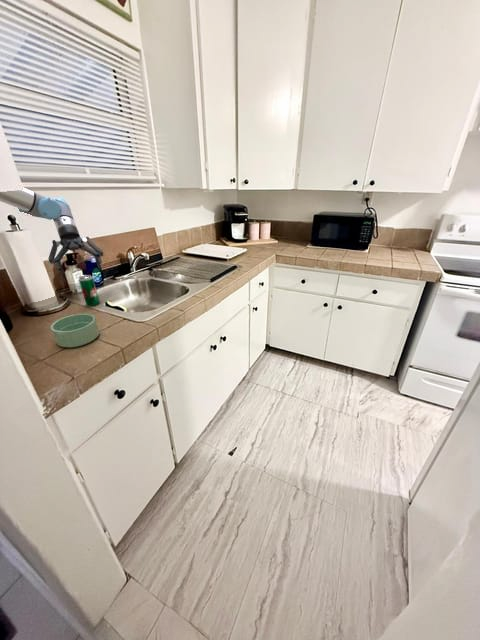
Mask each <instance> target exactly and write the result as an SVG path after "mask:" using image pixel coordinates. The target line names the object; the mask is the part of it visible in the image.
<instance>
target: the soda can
mask: <svg viewBox="0 0 480 640" xmlns="http://www.w3.org/2000/svg"><path fill="white" fill-rule="evenodd" d="M78 283H79V286H80V289H81V293H82V296H83V299H84V302H85V305H86V306H88V307H93V306H97V305H99V304H100V298H99V294H98V292H97V287H96V285H95V281H94V277H92V275H91V274H84V275H80V276H79V277H78Z"/></svg>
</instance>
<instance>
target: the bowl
mask: <svg viewBox="0 0 480 640" xmlns="http://www.w3.org/2000/svg"><path fill="white" fill-rule="evenodd" d="M50 331H51V333H52V336H53V338H54V341H55V343H56V344H57V346H58V347H62V348H76V347H81V346H84V345H87V344H89V343H91V342H92V341H94V340H96V338H98V336H99V335H100V330H99V326H98V323H97V320H96V317H95V315H93V314H90V313H76V314H71V315H68V316H67V315H66V316H64V317H61V318H59V319H58V320H56V321H54V322H53V323H52V324H51V325H50Z"/></svg>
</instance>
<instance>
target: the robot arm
mask: <svg viewBox="0 0 480 640" xmlns="http://www.w3.org/2000/svg"><path fill="white" fill-rule="evenodd" d="M22 187H23V190H22V191H7V192H0V202H1V203H4V204H7V205H9V206H12V207H17V208H18V209H19V211H20V212H24V213H27V214H30V215H32V216H31V217H35V218H41V219H46V220H49V221H51V220H52V219H53V222H54V225H55V228H56V231H57V234H58V237H59V240H55V239H53V240H52V241H51V243H52V246H51V249H50V252H49V254H48V259H47V260H48V262H49V264H55V267H56V270H57V271H60V272H61V274H62V278H63V279H66V278H67V277H66V274H65V271H64V267H63V265H62V262H61V261H62V259H63V258H64V256H66V254H67V253H68V251H70V252H73V251H78V250H81V251H84V252H86V253H87V254H89V255H91V256H93V257H94V260H95V262H96V265H97V268H98V270H99V272H100V273H102V272H103V269H102V266H101V265H102V264H103V262H102V258H101V257H104V251H103V250H102V249H101V248H99V247H98V246H97V245H96V244H95V243H94V242H93V241H92V240H91V239H90V237H89V236H86V237H85V238H82V237H81V235H80V232H79V230H78V227H77V225H76V222H75V219H74V216H73V214H72V211H71V209H72V208H71V207H70V205H69V202H68V201H67V200H66V199H65V198H63V197H61V198H58V199H55V200H54V199H51V197H47V196H43V195H41V194H39V193H37V192H35V191H33V190H30V189H28V188H27V187H24V186H22ZM62 198H63V199H62ZM64 199H65V200H66V201H67V202H66V201H65V200H64ZM84 243H85V244H84ZM87 245H88V246H87ZM60 246H62V247H61V249H60V250H59V251H58V248H59V247H60ZM57 251H58V253H57Z"/></svg>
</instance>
